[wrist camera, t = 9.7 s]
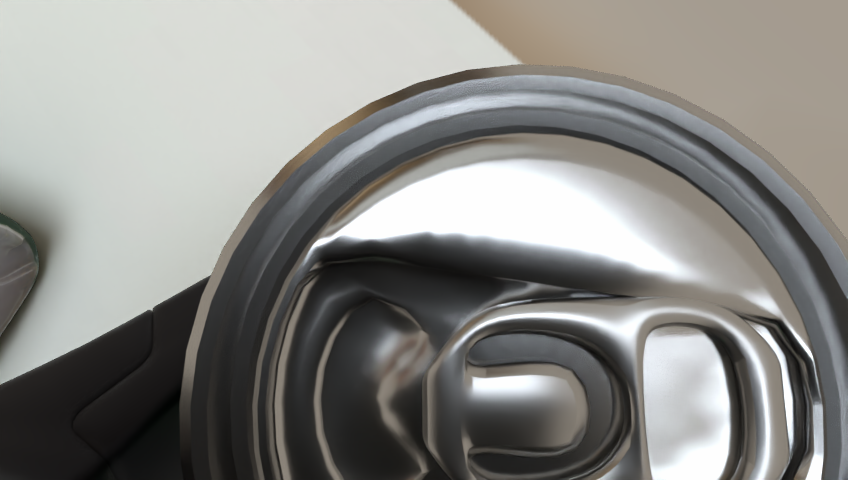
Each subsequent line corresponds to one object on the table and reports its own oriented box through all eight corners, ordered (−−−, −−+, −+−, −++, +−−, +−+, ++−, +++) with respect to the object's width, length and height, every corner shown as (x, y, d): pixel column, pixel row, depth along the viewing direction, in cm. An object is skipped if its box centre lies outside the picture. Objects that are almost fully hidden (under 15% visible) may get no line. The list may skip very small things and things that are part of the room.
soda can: (380, 244, 15) (139, 20, 4) (553, 241, 15) (925, -12, 3) (380, 421, 15) (79, 889, 3) (560, 421, 14) (1068, 937, 3)
